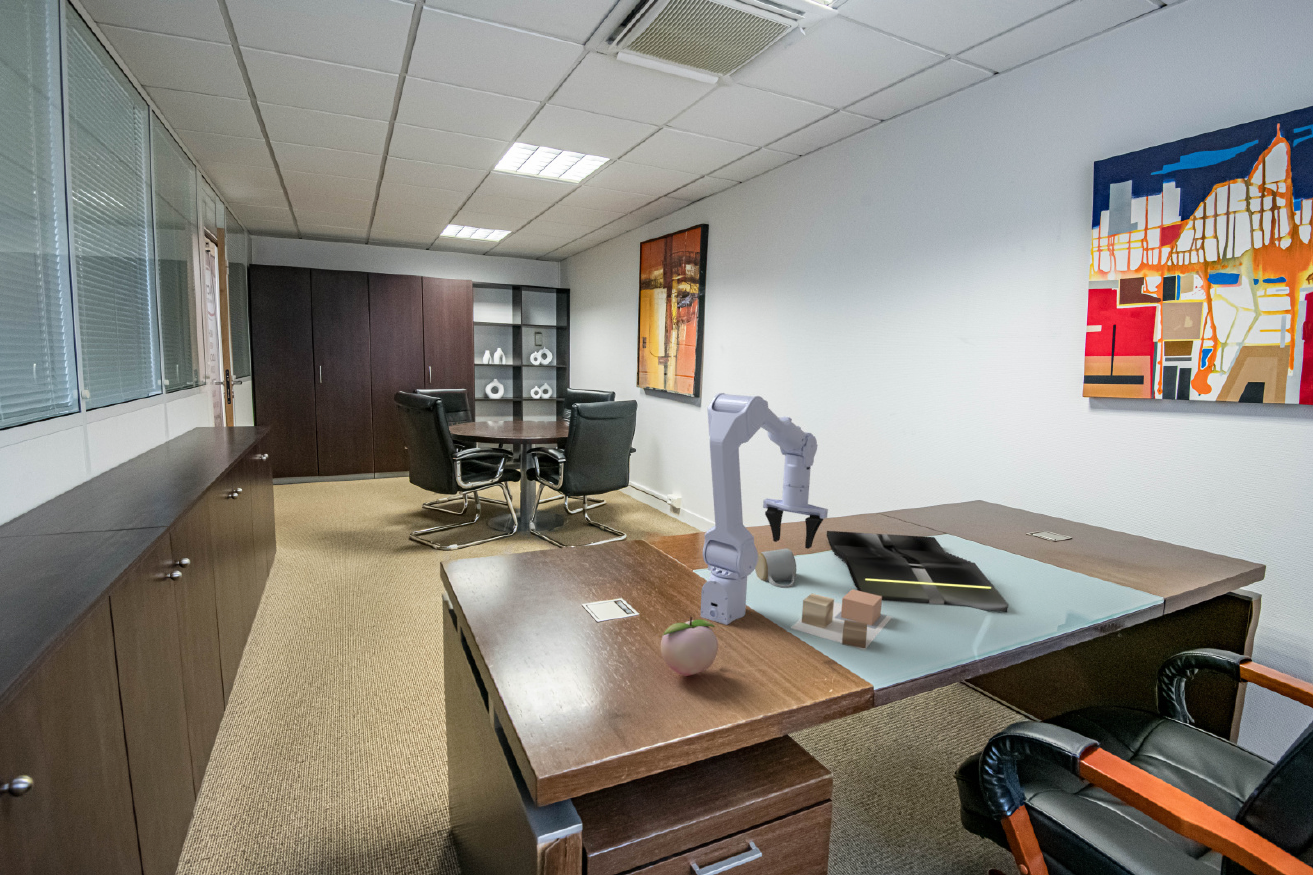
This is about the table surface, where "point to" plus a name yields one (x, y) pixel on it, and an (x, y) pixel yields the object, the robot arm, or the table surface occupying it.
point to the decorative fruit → (689, 646)
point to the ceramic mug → (776, 566)
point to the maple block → (817, 610)
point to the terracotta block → (861, 607)
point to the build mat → (841, 627)
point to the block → (854, 634)
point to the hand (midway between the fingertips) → (792, 544)
